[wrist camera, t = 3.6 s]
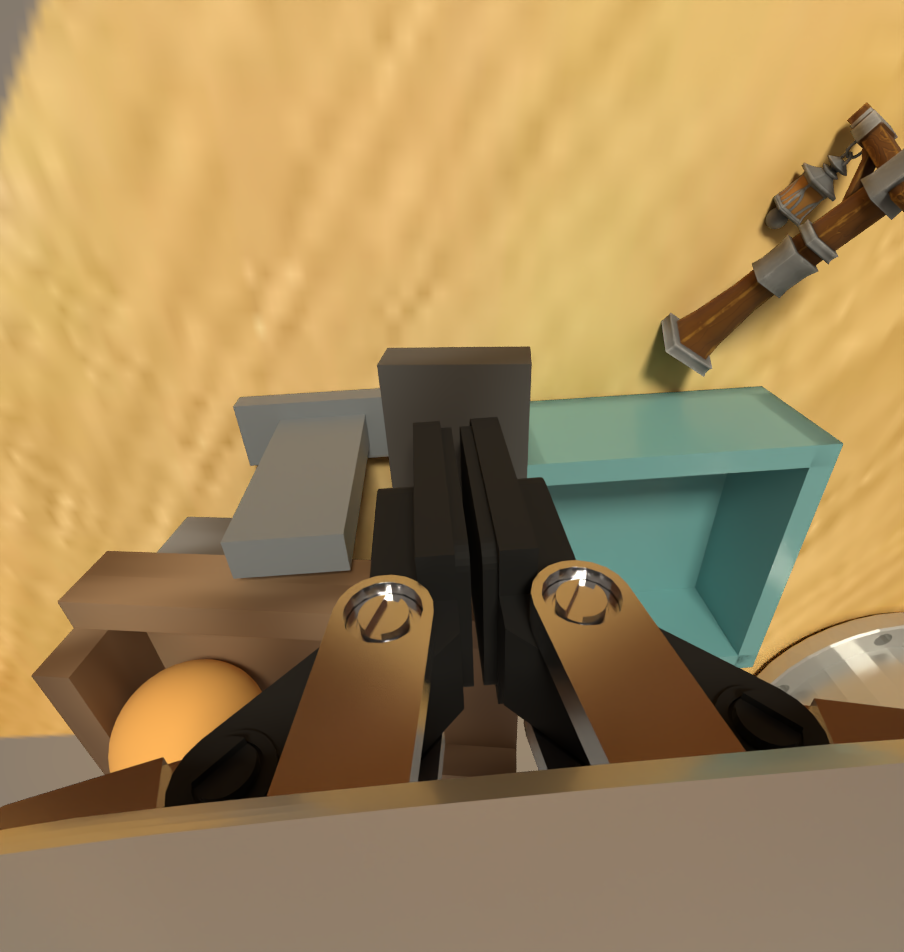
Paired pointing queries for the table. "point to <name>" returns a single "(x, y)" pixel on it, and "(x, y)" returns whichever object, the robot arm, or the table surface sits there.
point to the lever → (279, 578)
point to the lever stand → (303, 480)
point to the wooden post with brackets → (801, 236)
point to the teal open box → (687, 501)
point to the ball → (177, 711)
